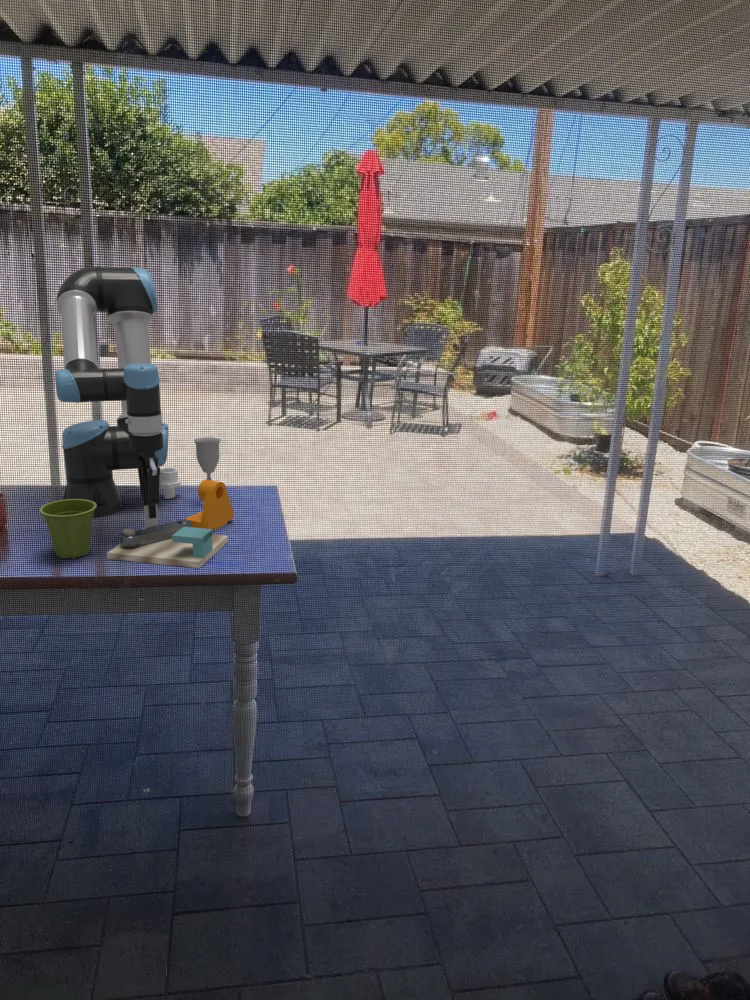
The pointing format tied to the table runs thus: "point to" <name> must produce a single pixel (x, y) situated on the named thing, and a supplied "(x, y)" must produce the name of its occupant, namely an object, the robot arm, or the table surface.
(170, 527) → the link
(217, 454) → the chalice
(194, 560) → the base board
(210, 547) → the block
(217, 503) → the bracket
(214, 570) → the table surface
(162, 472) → the pipe fitting
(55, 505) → the plant pot
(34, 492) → the table surface
